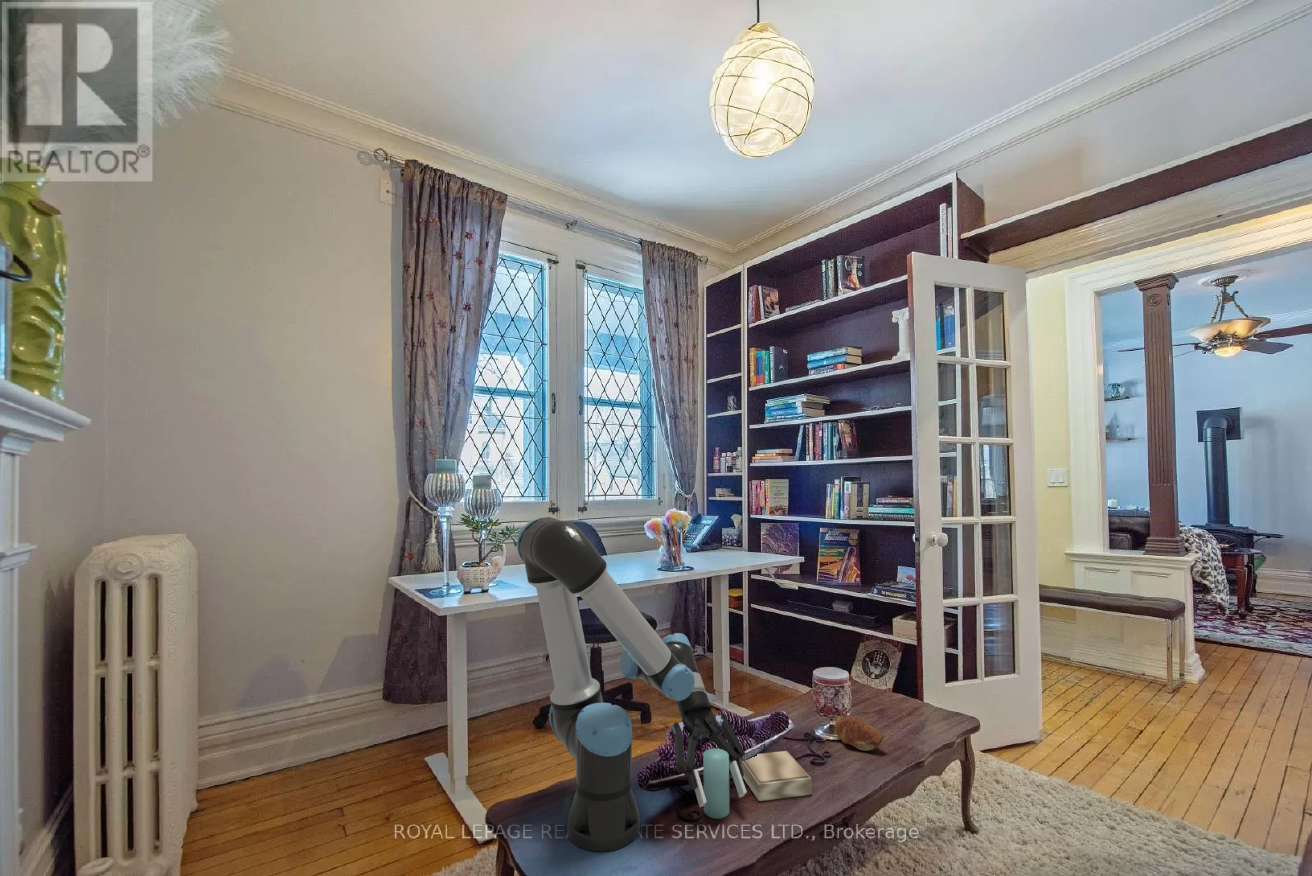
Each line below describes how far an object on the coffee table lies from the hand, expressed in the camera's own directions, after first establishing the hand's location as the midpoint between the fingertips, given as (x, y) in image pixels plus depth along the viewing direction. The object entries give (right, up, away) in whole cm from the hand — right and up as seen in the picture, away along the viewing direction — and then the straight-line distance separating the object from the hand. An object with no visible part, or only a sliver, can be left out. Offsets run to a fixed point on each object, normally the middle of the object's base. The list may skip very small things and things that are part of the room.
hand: (723, 799), depth 122 cm
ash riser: (+14, -5, +14) cm, 20 cm away
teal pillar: (-1, -4, +3) cm, 5 cm away
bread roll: (+41, -6, +33) cm, 52 cm away
